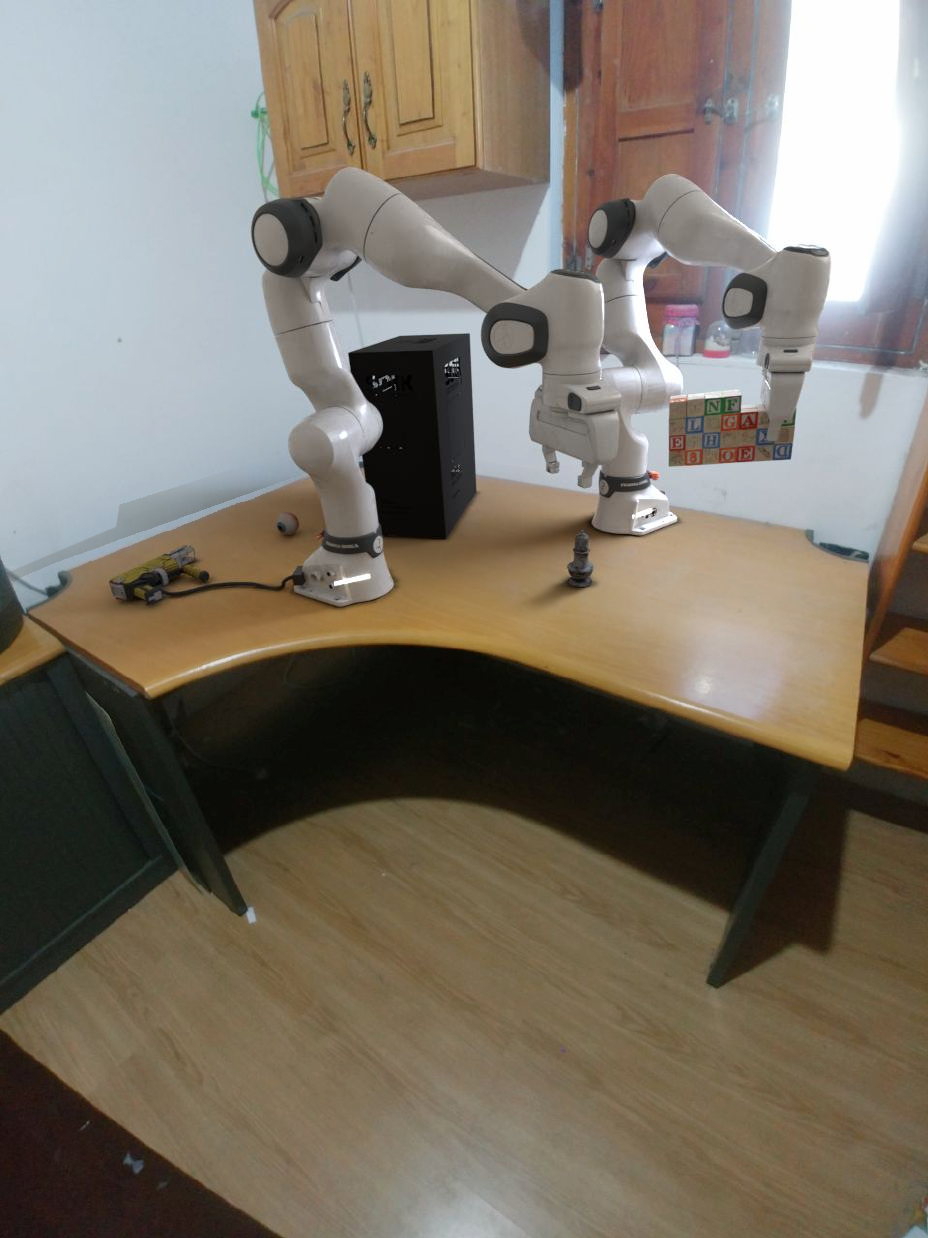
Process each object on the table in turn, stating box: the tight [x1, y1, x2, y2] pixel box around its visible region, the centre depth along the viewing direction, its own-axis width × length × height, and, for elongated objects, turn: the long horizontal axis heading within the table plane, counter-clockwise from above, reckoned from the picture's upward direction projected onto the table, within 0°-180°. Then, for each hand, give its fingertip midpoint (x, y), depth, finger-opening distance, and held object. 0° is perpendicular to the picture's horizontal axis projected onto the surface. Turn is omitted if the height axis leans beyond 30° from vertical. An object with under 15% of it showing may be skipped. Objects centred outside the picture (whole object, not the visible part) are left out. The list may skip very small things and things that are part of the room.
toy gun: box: [108, 544, 210, 607], centre depth 141 cm, size 5×24×15 cm
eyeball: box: [275, 511, 300, 536], centre depth 163 cm, size 6×6×6 cm
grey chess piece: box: [566, 529, 595, 588], centre depth 129 cm, size 6×6×12 cm
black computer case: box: [347, 332, 477, 540], centre depth 163 cm, size 38×20×45 cm, turn 167°
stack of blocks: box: [668, 388, 797, 468], centre depth 113 cm, size 21×6×12 cm, turn 72°
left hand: (567, 479), depth 99 cm, fingers open, 8 cm apart
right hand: (769, 434), depth 111 cm, fingers closed on stack of blocks, 6 cm apart
